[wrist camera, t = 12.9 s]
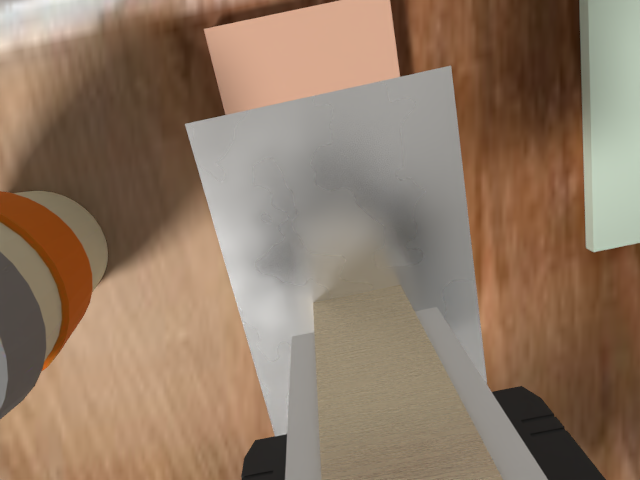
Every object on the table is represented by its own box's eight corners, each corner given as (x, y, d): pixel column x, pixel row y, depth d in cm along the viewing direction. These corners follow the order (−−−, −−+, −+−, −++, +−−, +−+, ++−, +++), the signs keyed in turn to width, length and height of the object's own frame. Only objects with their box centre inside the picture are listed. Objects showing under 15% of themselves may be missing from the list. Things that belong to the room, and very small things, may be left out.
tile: (413, 175, 32) (388, -10, 29) (248, 207, 33) (203, 29, 29) (406, 170, 34) (383, -4, 31) (251, 201, 35) (209, 33, 31)
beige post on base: (489, 469, 19) (678, 846, 9) (301, 505, 19) (299, 910, 10) (441, 67, 14) (725, 1, 5) (192, 122, 14) (-26, 166, 5)
